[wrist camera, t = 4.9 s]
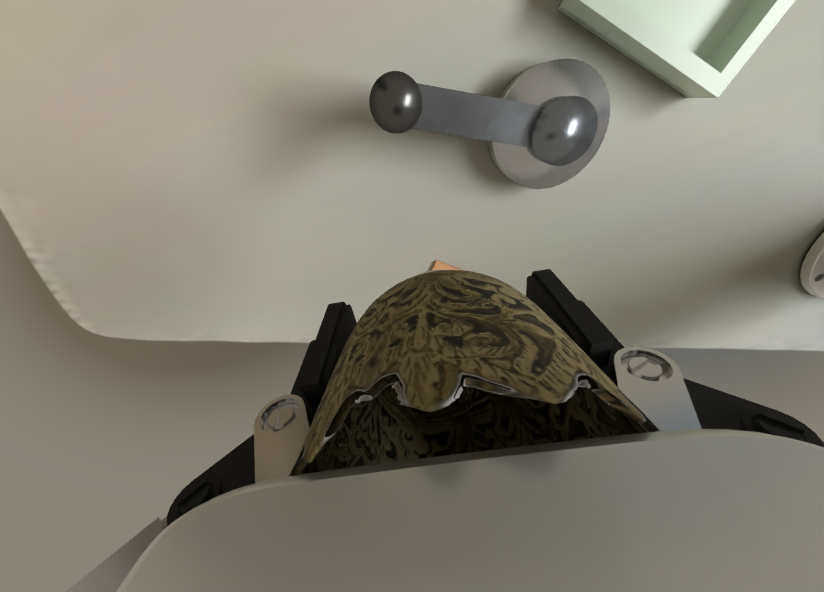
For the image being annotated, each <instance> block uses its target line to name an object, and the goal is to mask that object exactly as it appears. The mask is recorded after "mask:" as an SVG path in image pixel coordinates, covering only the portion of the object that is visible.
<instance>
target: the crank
mask: <svg viewBox="0 0 824 592" xmlns="http://www.w3.org/2000/svg"><path fill="white" fill-rule="evenodd" d="M370 110H371V113H372V116H373V118H374V120H375V121H376V123H377V124H378V125H379V126H380V127H381V128H382V129H384V130H385V131H387V132H390V133H403V132H406V131H408V130H409V129H411V128H413V129H419V130H425V131H431V132H438V133H444V134H450V135H456V136H462V137H468V138H474V139H480V140H486V141H492V142H498V143H504V144H510V145H516V146H522V147H527V150H528V151H529V153H530V154H531V155H532V156H533V157H534V158H535V159H537V160H539V161H542V162H544V163H547V164H549V165H552V166H564V165H567V164H570V163H572V162H574V161H576V160H577V159H579V158H580V157H581V156H582V155H583V154H584V153H585V152H586V151H587V150H588V148H589V147H590V145H591V144H592V142H593V140H594V138H595V135H596V132H597V126H598V117H597V112H596V110H595V107H594V106H593V104H592V103H591V102H590V101H589V100H587V99H586V98H584V97H580V96H558V97H553V98H551V99H549V100H547V101H545V102H543V103H542V104H541V105H540V106H538V105H533V104H527V103H522V102H516V101H511V100H505V99H500V98H494V97H489V96H483V95H478V94H473V93H467V92H462V91H456V90H451V89H445V88H440V87H434V86H429V85H423V84H418V83H416V82H415V81H414V80H413V79H412V78H411V77H410V76H409V75H407V74H405V73H403V72H399V71H391V72H388V73H385V74H383V75H382V76H381V77H379V78H378V79H377V81H376V82H375V83H374V85H373V87H372V90H371V93H370Z"/></svg>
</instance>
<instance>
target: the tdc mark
mask: <svg viewBox="0 0 824 592" xmlns="http://www.w3.org/2000/svg"><path fill="white" fill-rule="evenodd" d="M432 270H460V269H457V268H455V267H452V266H449V265H447V264H444V263H442V262H439V261H436V262H435V264H434V266H433V268H432Z"/></svg>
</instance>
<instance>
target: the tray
mask: <svg viewBox="0 0 824 592" xmlns="http://www.w3.org/2000/svg"><path fill="white" fill-rule="evenodd" d="M794 1H795V0H562V2H561V4H560V6H559V8H558V10H559V11H561V12H562V13H564V14H565V15H567V16H568V17H569V18H571V19H572V20H574V21H575V22H577V23H578V24H580V25H581V26H583V27H584V28H586V29H587V30H589V31H590V32H591V33H593V34H594V35H596V36H597V37H599V38H600V39H602V40H603V41H605V42H606V43H608V44H609V45H611V46H612V47H614V48H615V49H616V50H618V51H619V52H621V53H622V54H624V55H625V56H627V57H628V58H630V59H631V60H633V61H634V62H636V63H637V64H639V65H640V66H641V67H643V68H644V69H646V70H647V71H649V72H650V73H652V74H653V75H655V76H656V77H658V78H659V79H661V80H662V81H663V82H665V83H666V84H668V85H669V86H671V87H672V88H674V89H675V90H677V91H678V92H680V93H681V94H683V95H684V96H686V97H687V98H718V97H719V95H720V94H721V93H722V92H723V90H724V89H725V88H726V87H727V85H728V84H729V83H730V82H731V80H732V79H733V78H734V77H735V75H736V74H737V73H738V72H739V70H740V69H741V68H742V67H743V65H744V64H745V63H746V62H747V60H748V59H749V58H750V57H751V55H752V54H753V53H754V52H755V50H756V49H757V48H758V47H759V45H760V44H761V43H762V42H763V40H764V39H765V38H766V36H767V35H768V34H769V33H770V31H771V30H772V29H773V28H774V26H775V25H776V24H777V23H778V21H779V20H780V19H781V18H782V16H783V15H784V14H785V13H786V11H787V10H788V9H789V8H790V6H791V5H792V4H793V3H794Z"/></svg>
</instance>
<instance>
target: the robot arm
mask: <svg viewBox="0 0 824 592" xmlns="http://www.w3.org/2000/svg"><path fill="white" fill-rule="evenodd" d="M800 278H801V284H802V286H803V287H804V289H805V290H806V291H807V292H809V293H810V294H812V295H814V296H817V297H819V298H821V299H823V300H824V232H823V233H822V234H821V235H820V237H819V238H818V239H817V240H816V241H815V243H814V244H813V245H812V247H811V249H810V250H809V252H808V253H807V255H806V257H805V259H804V262H803V264H802V268H801V273H800ZM526 297H527V298H529V299H530V300H531V301H532V302H533V303H535V304H536V305H537V306H538V307H539V308H540V309H541V310H542V311H544V312H545V313H546V314H547V315H548V316H549V317H550V318H551V319H552V320H553V321H554V322H555V323H556V324H557V325H558V326H559V327H560V328H561V329H562V330H563V331H564V332H565V333H566V334H567V335H568V336H569V337H570V338H571V339H572V340H573V341H574V342H575V343H576V344H577V345H578V346H579V347H580V348H581V349H582V350H583V351H584V352H585V353H586V354H587V355H588V357H589V358H590V359H591V360H592V361H593V362H594V363H595V364H596V365H597V366H598V367H599V368H600V369H601V370H602V371H603V372H604V373H605V374H606V375H607V376H608V377H609V378H610V380H611V381H612V382H613V383H614V384H615V385H616V386H617V387H618V388H619V389H620V390H621V391H622V392H623V393H624V394H625V395H626V396H627V397H628V398H629V400H630V401H631V402H633V403H634V404H635V405H636V406H637V407H638V408H639V409H640V410H641V411H642V412H643V413H644V414H645V415H646V416H647V418H648V419H649V420H650V421H651V422H652V423H653V424H654V425H655V426H656V427H657V428H658V429H659V430H660V431H656V432H647V431H646V430H645V429H644V428H643V427H642V426H641V425H640V424H639V423H638V422H637V421H635V420H634V419H633V420H634V421H635V422H636V423H637V424H638V425H639V426H641V427H642V428H643V429H644V430H645V431H646V433H640V432H639V431H638V430H637V429H636V428H635V427H634V426H633V425H632V424H631V423H630V422H629V420H628V419H627V418H626V417H625V416H624V415H623V413H619V414H616V422H617V429H618V435H616V436H607V437H598V438H589V439H581V440H572V441H564V442H555V443H546V444H538V445H529V446H520V447H512V448H504V449H496V450H487V451H479V452H471V453H463V454H454V455H446V456H438V457H430V458H422V459H414V460H406V461H398V462H390V463H382V464H374V465H366V466H359V467H351V468H343V469H335V470H328V471H324V470H323V466H322V461H321V457H320V453H319V452H318V453H317V455H316V456H315V458H314V460H313V461H312V462H311V463H308V466H307V469H306V471H305V474H301V475H294V476H289V474H290V472H291V470H292V468H293V466H294V464H295V462H296V460H297V458H298V456H299V453H300V451H301V449H302V446H303V444H304V441H305V439H306V436H307V434H308V431H309V429H310V426H311V424H312V421H313V419H314V416H315V414H316V411H317V409H318V406H319V404H320V402H321V399H322V397H323V394H324V392H325V389H326V387H327V385H328V382H329V380H330V378H331V375H332V373H333V370H334V368H335V366H336V363H337V361H338V359H339V357H340V354H341V352H342V350H343V348H344V346H345V344H346V342H347V340H348V338H349V336H350V335H351V333H352V331H353V329H354V327H355V326H356V324H357V323H356V320H355V317H354V314H353V311H352V308H351V306H350V305H346V304H345V302H339V303H332V304H329V305H328V307H327V310H326V313H325V315H324V318H323V321H322V324H321V326H320V329H319V332H318V335H317V337H316V340H313V341H311V343H310V345H309V347H308V350H307V352H306V355H305V358H304V360H303V363H302V365H301V368H300V371H299V373H298V376H297V378H296V381H295V384H294V386H293V389H292V391H291V394H290V395H283V396H280V397H277V398H276V399H274V400H272V401H271V402H269V403H268V404H267V405H265V406H264V407H263V408H262V410H261V411H260V412H259V414H258V415H257V417H256V419H255V423H254V434H253V435H252V436H251V437H249V438H248V439H247V440H246V441H244V442H243V443H242V444H240V445H239V446H238V447H236V448H235V449H234V450H233V451H231V452H230V453H229V454H227V455H226V456H225V457H223V458H222V459H221V460H220V461H218V462H217V463H215V464H214V465H213V466H212V467H210V468H209V469H208V470H206V471H205V472H204V473H202V474H201V475H200V476H198V477H197V478H196V479H194V480H193V481H192V482H191V483H190V484H189V485H187V486H186V487H185V488H184V489H183V490H182V491H181V492H180V494H179V495H178V496H177V497H176V499H175V500H174V502H173V504H172V505H171V507H170V509H169V512H168V515H167V517H165V518H164V519H163V520H162V519H161V518H159V517H158V518H157V519H155V520H154V521H153V522H152V523H151V524H149V525H148V526H147V527H146V528H144V529H143V530H142V531H141V532H140V533H138V534H137V535H136V536H134V537H133V538H132V539H131V540H129V541H128V542H127V543H126V544H124V545H123V546H122V547H121V548H120V549H118V550H117V551H116V552H114V553H113V554H112V555H111V556H110V557H108V558H107V559H106V560H105V561H103V562H102V563H101V564H100V565H98V566H97V567H96V568H95V569H94V570H92V571H91V572H90V573H88V574H87V575H86V576H85V577H84V578H82V579H81V580H80V581H78V582H77V583H76V584H75V585H74V586H72V587H71V588H70V589H69V590H68V591H67V592H824V442H822V441H821V439H820V438H819V437H818V436H817V434H816V433H815V432H813V431H812V430H811V429H810V428H808V427H807V426H806V425H805V424H803V423H801V422H800V421H798V420H796V419H795V418H793V417H791V416H789V415H786V414H784V413H782V412H779V411H777V410H774V409H771V408H768V407H765V406H762V405H760V404H757V403H754V402H751V401H748V400H745V399H742V398H739V397H736V396H733V395H730V394H727V393H725V392H722V391H719V390H716V389H713V388H710V387H707V386H704V385H701V384H698V383H695V382H692V381H689V380H687V379H684V378H683V377H682V374H681V371H680V369H679V367H678V366H677V364H676V363H675V362H674V361H673V360H672V359H671V358H669V357H668V356H666V355H664V354H662V353H661V352H658V351H656V350H653V349H650V348H645V347H635V346H631V347H626V348H624V347H623V345H622V344H621V343H620V342H619V341H618V340H617V339H616V338H615V337H614V336H613V334H612V333H611V332H610V331H609V330H608V329H607V328H606V327H605V326H604V324H603V323H602V322H601V321H600V320H599V319H598V318H597V317H596V316H595V315H594V313H593V312H592V311H591V310H590V309H589V308H588V307H587V306H586V305H585V304H584V303H583V302H582V301H579V300H577V299H576V298H575V297H574V296H573V295H572V293H571V292H570V291H569V290H568V289H567V288H566V287H565V286H564V284H563V283H562V282H561V281H560V280H559V279H558V278H557V277H556V275H555V274H554V273H553V272H552V271H551V270H550V269H547V270H540V271H534V272H533V273H532V276H528V277H527V290H526ZM615 399H617V400H618V401H620V400H619V399H618V398H615ZM620 402H621V401H620ZM621 403H622V402H621ZM344 423H345V424H346V426H347V427H348V429H349V430H350V431H351V414H350V411H349V413H348V414H347V416H346V418H345V420H344ZM303 453H304V452H303ZM302 455H303V454H302ZM306 463H307V462H306ZM305 465H306V464H305ZM304 467H305V466H304ZM303 469H304V468H303ZM302 471H303V470H302Z"/></svg>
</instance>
